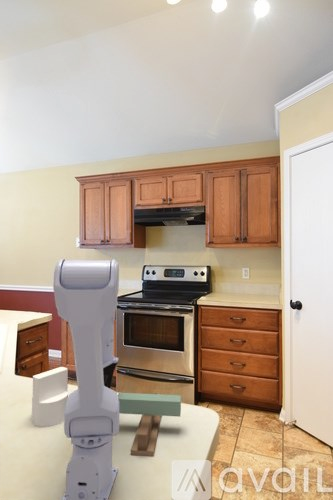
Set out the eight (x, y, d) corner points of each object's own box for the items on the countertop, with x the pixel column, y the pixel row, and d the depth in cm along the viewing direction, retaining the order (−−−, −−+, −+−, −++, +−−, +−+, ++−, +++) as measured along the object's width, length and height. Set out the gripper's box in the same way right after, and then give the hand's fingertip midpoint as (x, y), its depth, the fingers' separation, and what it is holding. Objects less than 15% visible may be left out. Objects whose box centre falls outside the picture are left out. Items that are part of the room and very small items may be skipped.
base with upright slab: (43, 431, 75) (44, 382, 75) (25, 419, 80) (25, 373, 81) (74, 416, 82) (75, 371, 82) (55, 405, 88) (56, 364, 88)
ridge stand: (153, 456, 66) (153, 435, 66) (130, 454, 66) (130, 433, 66) (162, 409, 86) (162, 393, 86) (145, 408, 86) (145, 392, 86)
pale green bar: (115, 413, 75) (115, 398, 75) (118, 406, 78) (118, 392, 79) (180, 416, 74) (180, 401, 74) (180, 409, 77) (180, 395, 77)
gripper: (109, 349, 66) (109, 413, 66) (124, 332, 80) (124, 384, 80) (78, 348, 66) (77, 411, 66) (98, 332, 81) (98, 383, 81)
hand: (101, 396), depth 73 cm, fingers open, 7 cm apart
